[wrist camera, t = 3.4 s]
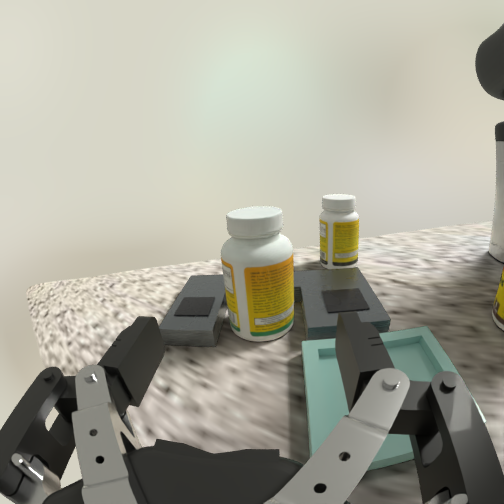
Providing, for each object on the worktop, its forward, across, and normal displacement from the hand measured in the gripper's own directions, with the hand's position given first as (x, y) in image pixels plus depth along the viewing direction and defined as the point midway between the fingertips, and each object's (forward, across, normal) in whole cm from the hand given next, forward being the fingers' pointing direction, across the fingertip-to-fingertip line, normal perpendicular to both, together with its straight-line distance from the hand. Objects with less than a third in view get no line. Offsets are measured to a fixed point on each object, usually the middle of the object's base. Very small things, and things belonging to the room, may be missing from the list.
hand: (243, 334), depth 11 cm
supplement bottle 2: (+22, -9, +7) cm, 24 cm away
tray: (+1, -8, +6) cm, 10 cm away
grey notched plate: (+12, -1, +6) cm, 13 cm away
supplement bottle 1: (+10, 0, +7) cm, 12 cm away
